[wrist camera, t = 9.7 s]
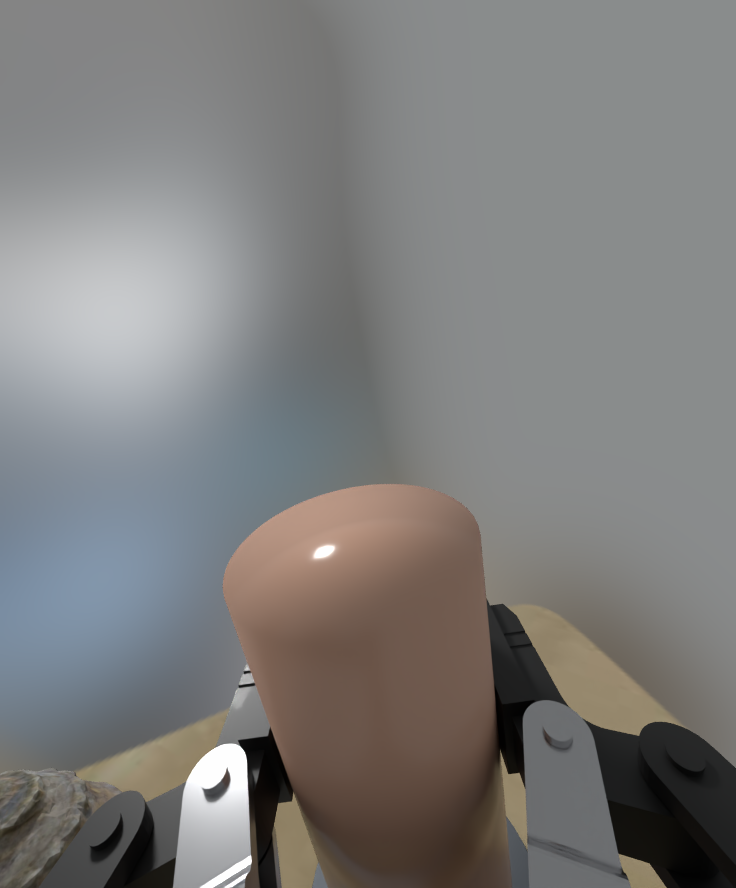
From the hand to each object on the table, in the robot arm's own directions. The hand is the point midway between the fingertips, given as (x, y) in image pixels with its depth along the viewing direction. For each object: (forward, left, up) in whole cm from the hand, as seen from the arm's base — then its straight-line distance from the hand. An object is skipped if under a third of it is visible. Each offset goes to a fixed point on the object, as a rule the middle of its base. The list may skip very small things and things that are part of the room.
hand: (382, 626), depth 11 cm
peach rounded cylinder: (+1, -3, -7) cm, 7 cm away
